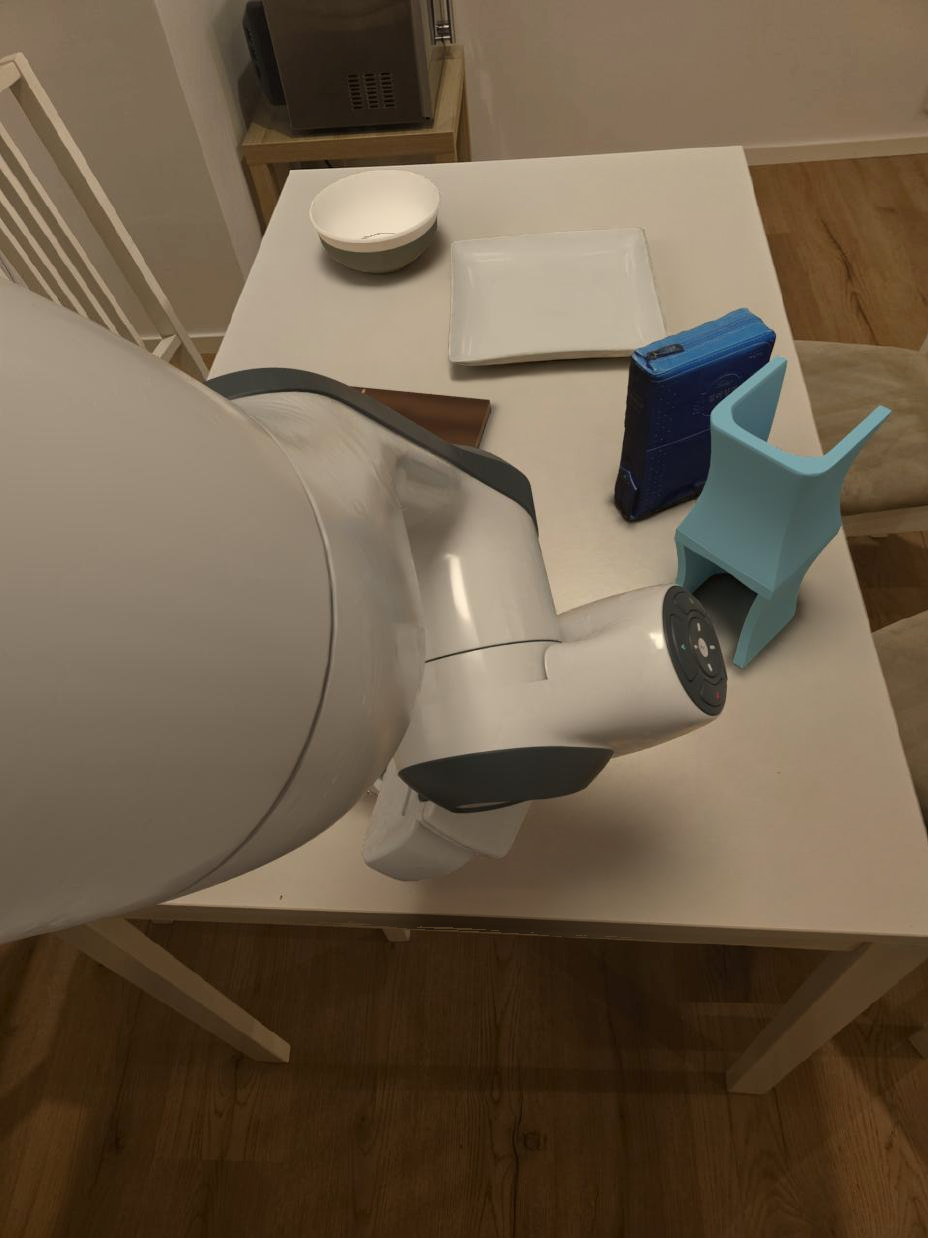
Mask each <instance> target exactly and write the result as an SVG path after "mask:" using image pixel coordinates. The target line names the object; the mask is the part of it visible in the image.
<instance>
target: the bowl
mask: <svg viewBox="0 0 928 1238" xmlns="http://www.w3.org/2000/svg"><path fill="white" fill-rule="evenodd" d="M441 203H442V200H441V194H440V191H439V189H438V187H437V185H436V184H435V183H433V181H431V180H430V179H428V178H427V177H426V176H424V175H422V174H419V173H417V172H412V171H410V170H409V171H408V170H404V169H403V170H402V169H373V170H367V171H362V172H361V171H360V172H357V173H354V174H351V175H348V176H345V177H343V178H341V179H337V180H336V181H334V182H332V183H330V184H329V185H327V186H326V187H324V188H323V189H322V190H321V191H319V192H318V194H317V195H316V196H315V197H314V199H313V200H312V202H311V204H310V205H309V210H308V218H309V222H310V224H311V225H312V227H313V228H314V230H315V231H316V233H317V234H318V237H319V240H320V243H321V245H322V247H323V248H324V250H325V251H326V252H327V253H328V254H329V255H330V256H331V258H333V259H334V261H336V262H337V263H339V264H341V265H343V266H344V267H345V266H346V267H347V268H350V269H352V270H355V271H358V272H364V273H367V274H371V275H388V274H392V273H395V272H398V271H400V270H402V269H403V268H405V267H407V266H408V265H409V264H411V263H413V262H414V261H416V260H417V259H418V258H419V257H420V256H421V255H422V254H423V253H424V252H425V251H426V250H427V249H428V248H429V246H430V245H431V243H432V242H433V240H434V237H435V235H436V232H437V229H438V214H439V209H440V206H441ZM377 233H395V234H380V235H375V236H372V237H369V238H367V239H361V238H363V237H364V236H370V235H374V234H377Z"/></svg>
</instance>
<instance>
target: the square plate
mask: <svg viewBox="0 0 928 1238" xmlns="http://www.w3.org/2000/svg"><path fill="white" fill-rule="evenodd" d="M449 248H450V249H449V264H450V308H449V309H450V310H449V326H448V328H449V329H448V342H447V343H448V345H447V358H448V360H449V362H451V363H453V364H458V365H461V366H465V367H467V366H468V367H472V366H473V367H474V366H475V367H476V366H477V367H480V366H495V365H507V364H518V363H528V362H529V363H530V362H541V361H553V360H571V359H588V358H589V359H591V358H620V357H623V358H625V357H631V354H632V353H633V351H635V350H636V349H638V348H641V347H645V346H647V345H649V344H651V343H652V342H655V341H659V340H662V339H664V338H666V337H668V336H670V334H669V330H668V326H667V322H666V319H665V315H664V310H663V307H662V302H661V298H660V295H659V291H658V286H657V282H656V277H655V272H654V267H653V263H652V257H651V253H650V248H649V242H648V238H647V235H646V232H645V230H644V229H643V228H642V227H624V228H623V227H622V228H604V229H583V230H565V231H551V232H536V233H535V232H534V233H522V234H509V235H499V236H489V237H480V238H470V239H469V238H468V239H459V240H454V241H452V242H451V244H450V247H449Z"/></svg>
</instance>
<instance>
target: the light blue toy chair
mask: <svg viewBox="0 0 928 1238" xmlns="http://www.w3.org/2000/svg"><path fill="white" fill-rule="evenodd" d="M787 366H788V359H787V358H785V357H783V356H781V355H779V354H777V355H776V356H774V357H773V358H772V359H770V361H769V362H768V363H767V364H766V365H765V366H764V367H762V368H761V369H760V370H759V371H758V372H756V373H755V374H754V375H753V376H751V377H750V378H749V379H748V380H747V381H745V382H744V383H743V384H742V385H740V386H739V387H738V388H737V389H736V390H734V391H733V392H732V393H731V394H729V395H728V396H727V397H726V398H725V399H723V400H722V401H721V402H720V403H719V404H718V405H717V406H716V407H715V408H714V409H713V411H712V412H711V415H710V424H711V462H710V469H709V473H708V478H707V481H706V484H705V486H704V488H703V491H702V493H700V494H699V496H698V498H697V500H696V501H695V503H694V505H693V506H692V507H691V509H690V510H689V512H688V513H687V515H686V516H685V517H684V518H683V520H682V521H681V522H680V523H679V525H678V526H677V527H676V529H675V533H674V538H673V539H674V543H675V548H676V555H677V573H676V578H675V582H674V584H678V585H680V586H682V587H684V588H685V589H687V590H688V591H689V592H690V593H691V594H692V595H693V593H694V592H695V591H697V590H698V588H699V587H701V585H703V584H704V583H705V582H706V581H707V580H708V579H709V578H710V577H711V576H713V575H716V574H730V575H731V576H733V577H734V578H735V579H737V580H738V581H739V582H741V583H742V584H743V585H744V586H746V587H747V588H749V589H750V590H751V591H753V592H755V593H756V594H757V595H756V597H755V599H754V601H753V602H752V605H751V607H750V608H749V611H748V613H747V615H746V618H745V621H744V623H743V626H742V629H741V632H740V635H739V638H738V642H737V645H736V649H735V654H734V657H733V660H732V663H733V664H734V665H736V666H737V667H739V668H740V669H741V670H744V669H745V668H746V667H747V666H748V665H749V664H750V662H751V661H752V660H754V658H755V657H756V656H758V655H759V654H760V652H761V651H762V650H763V649H764V648H766V646H767V645H769V643H770V642H771V641H772V640H773V639H774V638H775V637H776V636H777V635H778V634H779V633H780V632H781V631H783V629H784V628H785V627H786V626H787V625H788V624H789V623H790V622H791V620H792V619H793V618H794V616H795V614H796V610H797V603H798V596H799V592H800V588H801V585H802V582H803V580H804V577H805V576H806V574H807V572H808V570H809V569H810V567H811V566H812V565H813V563H814V562H815V561H816V559H817V558H818V557H819V556H820V555H821V553H822V552H823V551H824V550H825V548H826V547H827V546H828V545H829V544H830V543H831V542H832V541H833V540H834V538H835V537H836V536H837V535H838V534H839V532H840V530H841V527H842V525H843V523H842V513H841V494H842V487H843V485H844V482H845V478H846V475H847V474H848V472H849V471H850V468H851V466H852V465H853V463H854V461H855V460H856V459H857V457H858V455H859V454H860V452H861V451H862V450H863V448H864V447H865V446H866V445H867V444H868V442H869V440H870V439H871V438H872V437H873V436H874V435H875V433H876V432H877V431H878V430H879V429H880V428H881V426H882V425H883V424H884V423H885V421H886V420H887V419H888V418H890V416H891V414H892V412H893V410H892V409H889V408H887V407H885V406H883V405H881V404H880V405H878V406H876V408H875V409H874V410H872V411H871V412H870V413H869V414H868V415H867V416H866V417H865V418H864V419H863V420H862V421H860V423H858V424H857V425H856V426H855V427H854V428H853V429H852V430H851V431H849V432H848V434H847V435H845V436H844V437H843V438H842V439H841V440H840V441H839V442H838V443H837V444H836V445H835V446H833V448H831V449H830V450H829V451H828V452H826V453H825V454H824V455H821V456H803V455H797V454H792V453H790V452H787V451H784V450H782V449H780V448H778V447H777V446H774V445H773V444H771V443H769V442H768V440H769V438H770V434H771V431H772V426H773V423H774V419H775V416H776V412H777V408H778V405H779V401H780V397H781V393H782V389H783V385H784V380H785V376H786V371H787Z"/></svg>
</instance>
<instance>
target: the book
mask: <svg viewBox="0 0 928 1238" xmlns="http://www.w3.org/2000/svg"><path fill="white" fill-rule="evenodd" d="M776 341H777V334H776V332H775V330H774V329H772V328H770V327H768V325H767V324H765V322H764V321H763V320H762V318H761V317H759V316H758V315H756V314H754V313H753V312H751V311H750V309H749V308H747V307H740V308H738V309H735V310H732V311H730V312H728V313H727V314H725V315H723V316H721V317H719V318H717V319H715V320H710V321H706V322H704V323H701V324H699V325H697V326H695V327H693V328H690V329H688V330H682V331H680V332H678V333H676V334H673V335H669V336H668V337H666V338H664V339H662V340H659V341H655V342H652V343H651V344H649V345H647V346H645V347H641V348H638V349H636V350H635V351H633V353H632V354H631V356H630V362H629V367H628V378H627V379H628V380H627V392H626V400H625V412H624V420H623V425H624V431H623V440H622V446H621V454H620V460H619V461H620V462H619V468H618V473H617V476H616V480H615V484H614V491H613V492H614V493H613V500H614V503H615V505H616V507H617V508H618V509H619V511H620V513H621V515H622V516H623V517H625V518H626V519H627V520H629V521H634V520H639V519H642V518H645V517H648V516H650V515H652V514H654V513H656V512H658V511H661V510H663V509H665V508H667V507H671V506H674V505H675V504H678V503H680V502H684V501H686V500H689V499H691V498H693V497H695V496H697V495H700V494H701V493H702V491H703V488H704V486H705V484H706V481H707V478H708V473H709V469H710V462H711V424H710V415H711V412H712V411H713V409H714V408H715V407H716V406H717V405H718V404H719V403H720V402H721V401H722V400H723V399H725V398H726V397H727V396H728V395H729V394H731V393H732V392H733V391H734V390H736V389H737V388H738V387H739V386H740V385H742V384H743V383H744V382H745V381H747V380H748V379H749V378H750V377H751V376H753V375H754V374H755V373H756V372H758V371H759V370H760V369H761V368H762V367H764V366H765V365H766V364H767V363H768V362H770V361H771V356H772V353H773V351H774V349H775V348H774V347H775V344H776Z"/></svg>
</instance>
